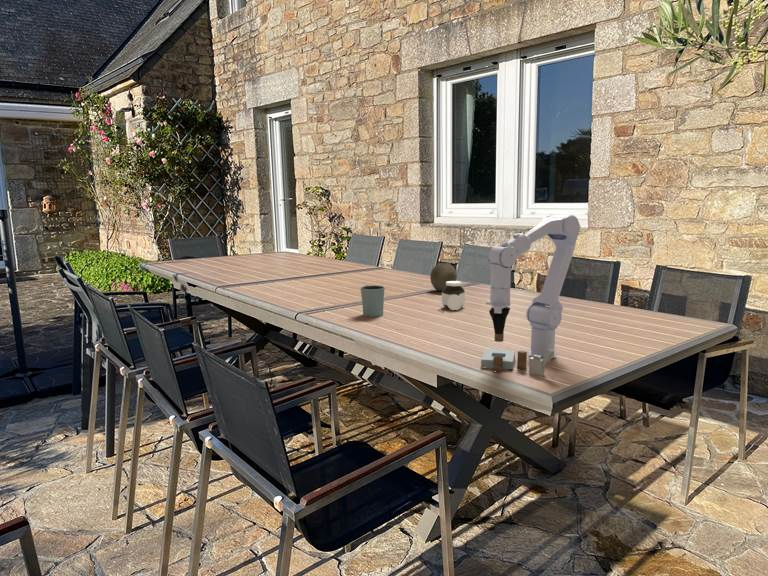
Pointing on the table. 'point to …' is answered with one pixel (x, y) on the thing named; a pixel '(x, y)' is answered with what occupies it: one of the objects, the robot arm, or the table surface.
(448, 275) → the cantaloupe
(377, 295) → the grey-green cup
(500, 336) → the tall dowel
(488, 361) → the socket block
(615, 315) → the table surface
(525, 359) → the medium dowel
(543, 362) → the lighter
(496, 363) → the short dowel
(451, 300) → the spread jar
